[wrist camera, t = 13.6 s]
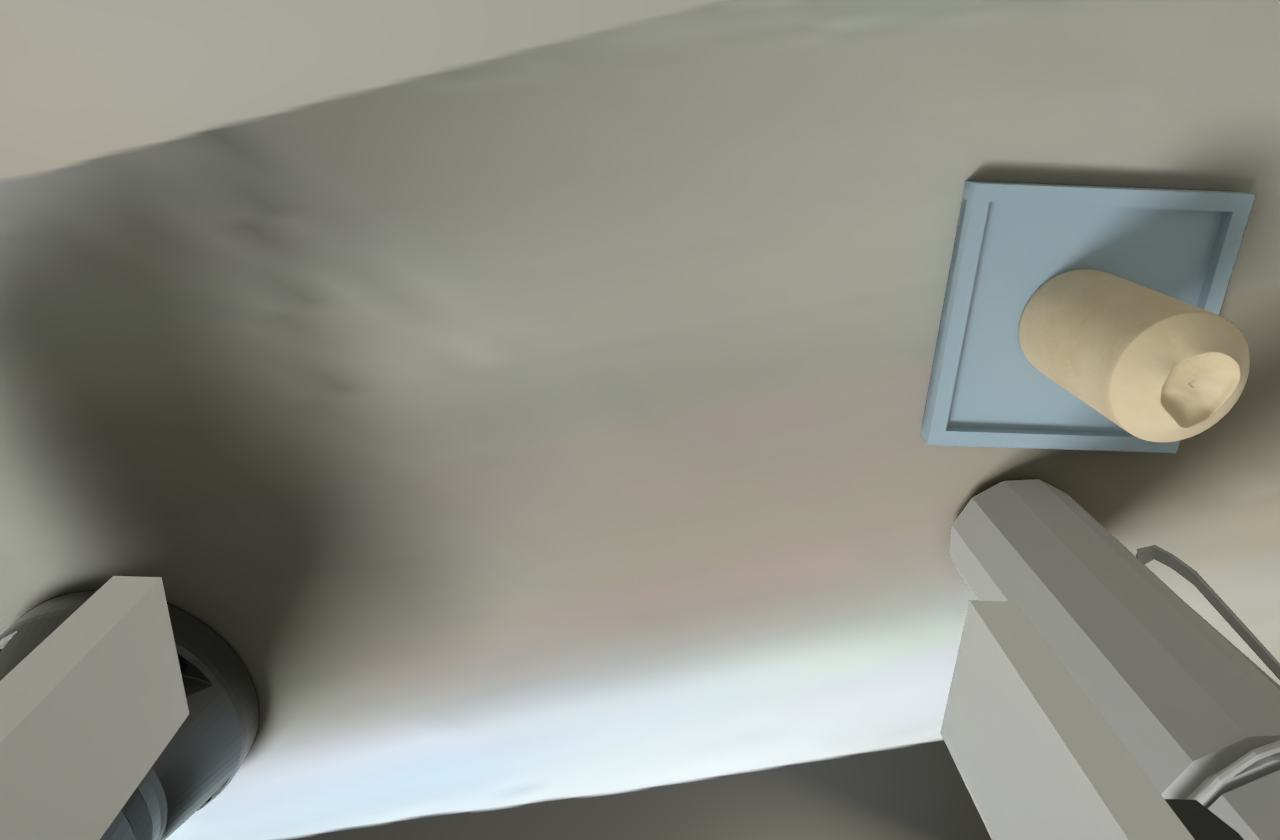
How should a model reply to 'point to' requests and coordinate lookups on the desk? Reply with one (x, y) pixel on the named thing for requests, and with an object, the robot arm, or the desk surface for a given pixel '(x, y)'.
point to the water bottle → (1134, 648)
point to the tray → (1038, 251)
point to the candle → (1135, 353)
